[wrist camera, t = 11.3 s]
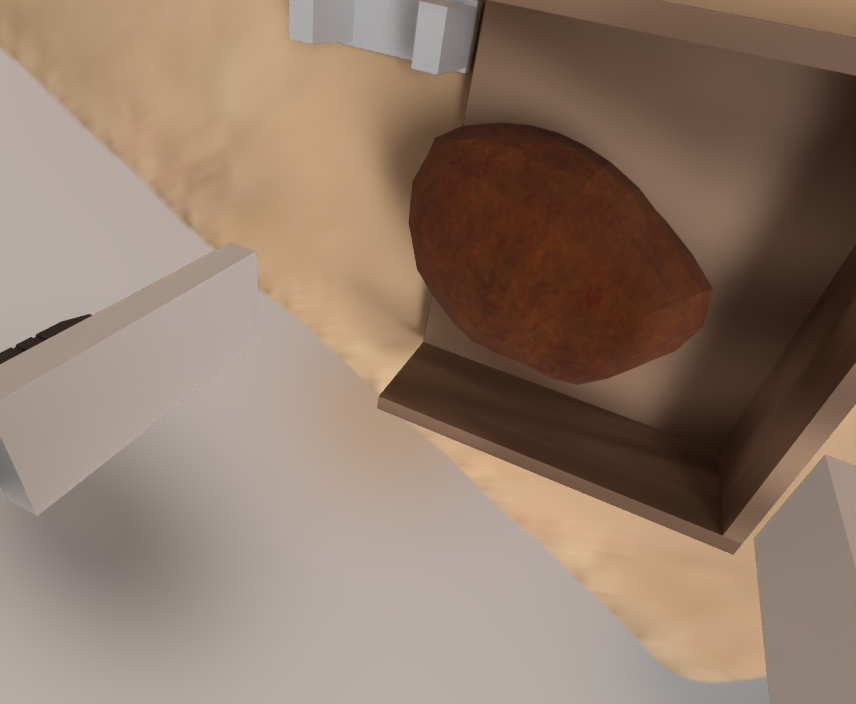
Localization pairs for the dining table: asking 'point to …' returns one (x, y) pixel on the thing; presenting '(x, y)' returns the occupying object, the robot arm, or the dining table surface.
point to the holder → (705, 238)
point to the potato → (551, 254)
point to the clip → (394, 29)
